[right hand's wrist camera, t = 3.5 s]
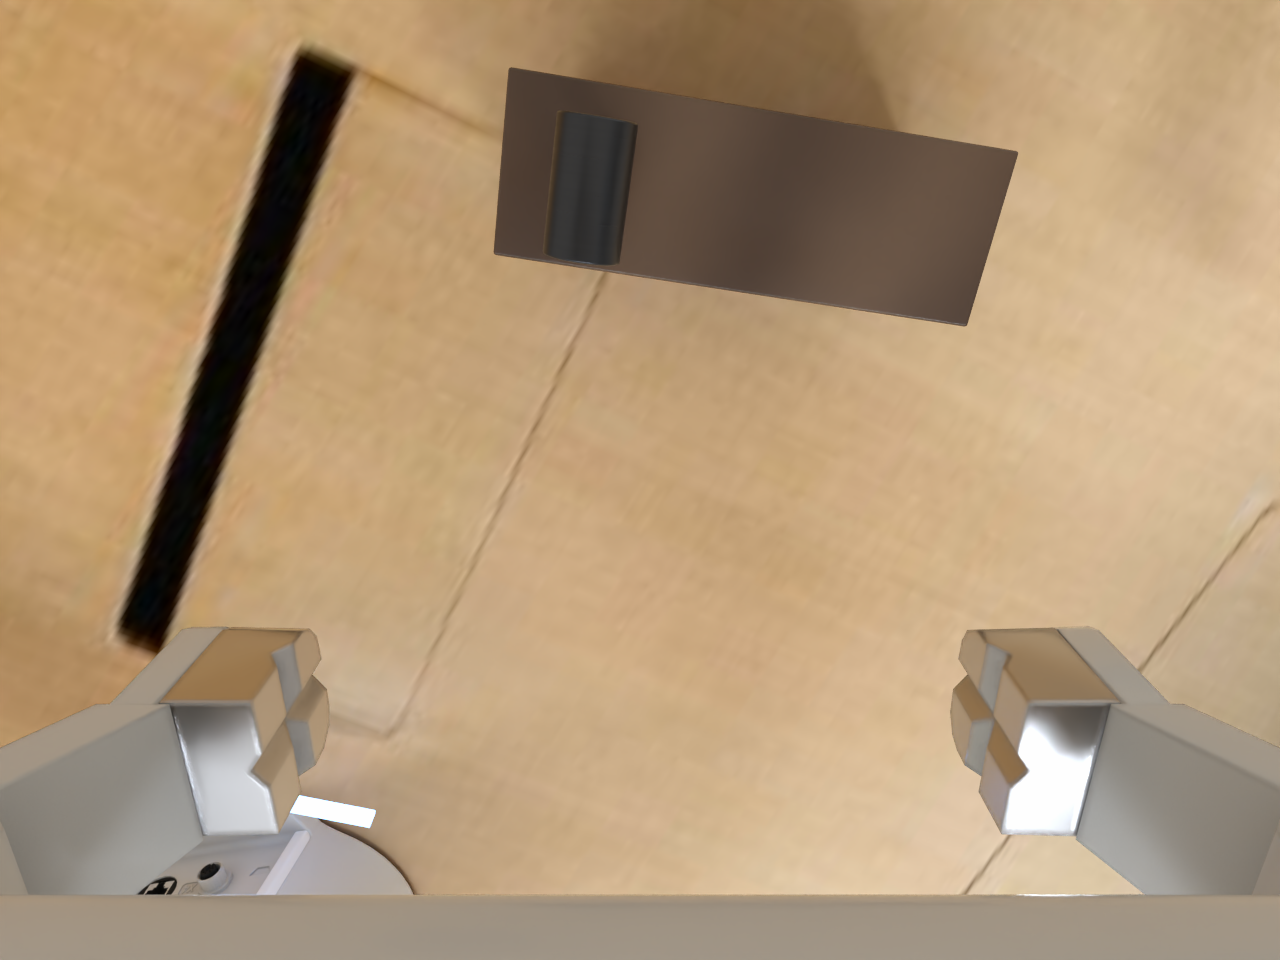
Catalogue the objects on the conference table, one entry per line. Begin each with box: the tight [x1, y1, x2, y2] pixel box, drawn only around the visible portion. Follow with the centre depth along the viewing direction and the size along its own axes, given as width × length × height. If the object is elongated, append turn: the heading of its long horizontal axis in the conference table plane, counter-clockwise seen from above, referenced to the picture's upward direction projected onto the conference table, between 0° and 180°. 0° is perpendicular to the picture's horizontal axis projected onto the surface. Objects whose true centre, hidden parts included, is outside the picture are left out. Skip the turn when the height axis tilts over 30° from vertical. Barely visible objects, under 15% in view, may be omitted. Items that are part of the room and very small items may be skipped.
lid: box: [494, 67, 1018, 326], centre depth 22 cm, size 15×5×9 cm, turn 82°
